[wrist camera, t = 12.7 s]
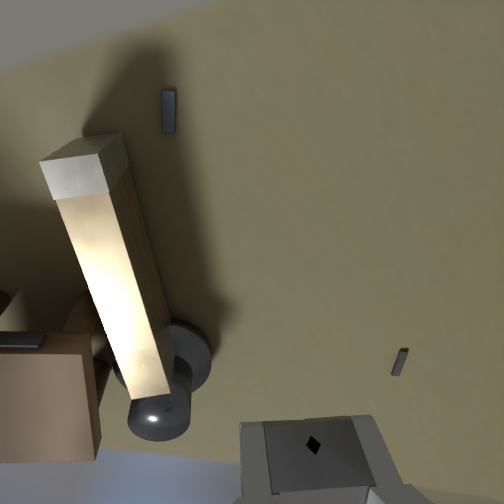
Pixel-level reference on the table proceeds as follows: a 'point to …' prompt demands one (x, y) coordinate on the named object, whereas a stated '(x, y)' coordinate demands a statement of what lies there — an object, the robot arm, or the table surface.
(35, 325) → the table surface
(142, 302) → the cam lever
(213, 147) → the table surface
